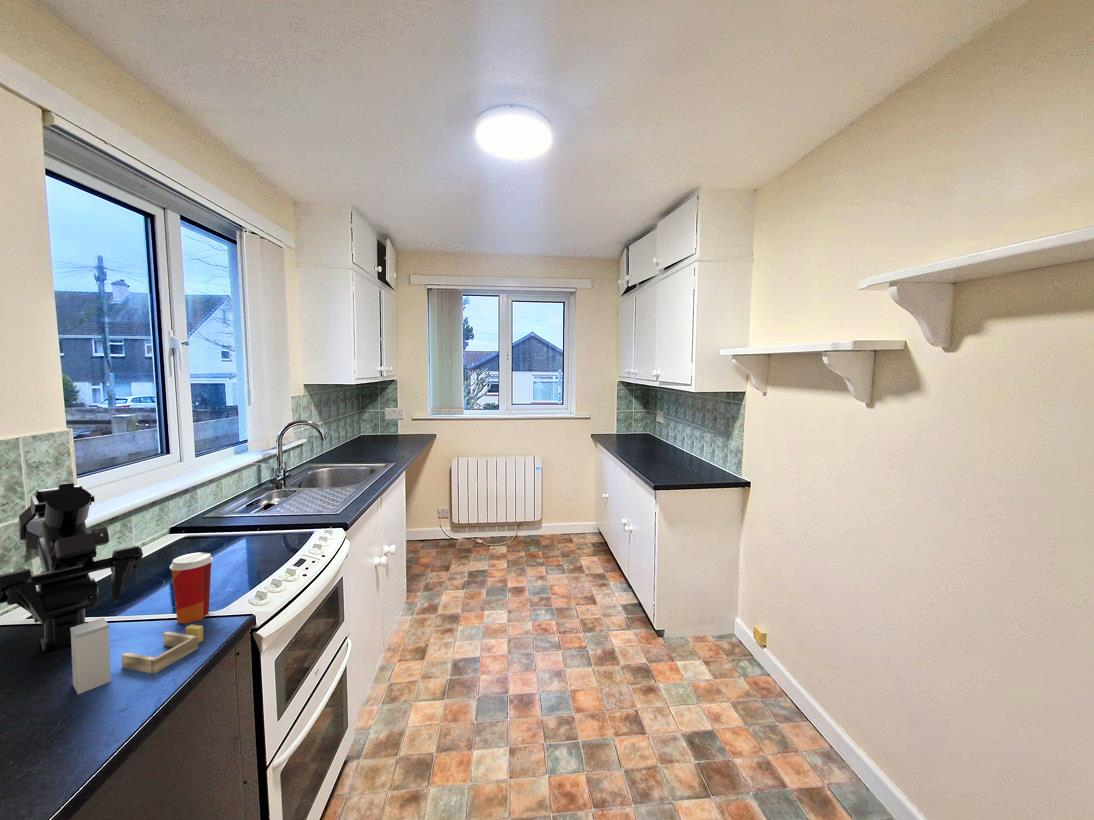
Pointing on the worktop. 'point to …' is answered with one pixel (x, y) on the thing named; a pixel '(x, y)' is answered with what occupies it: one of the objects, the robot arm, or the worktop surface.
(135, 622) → the worktop surface
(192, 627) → the mustard block
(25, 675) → the worktop surface
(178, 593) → the paper cup
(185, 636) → the bay
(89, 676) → the white plug
